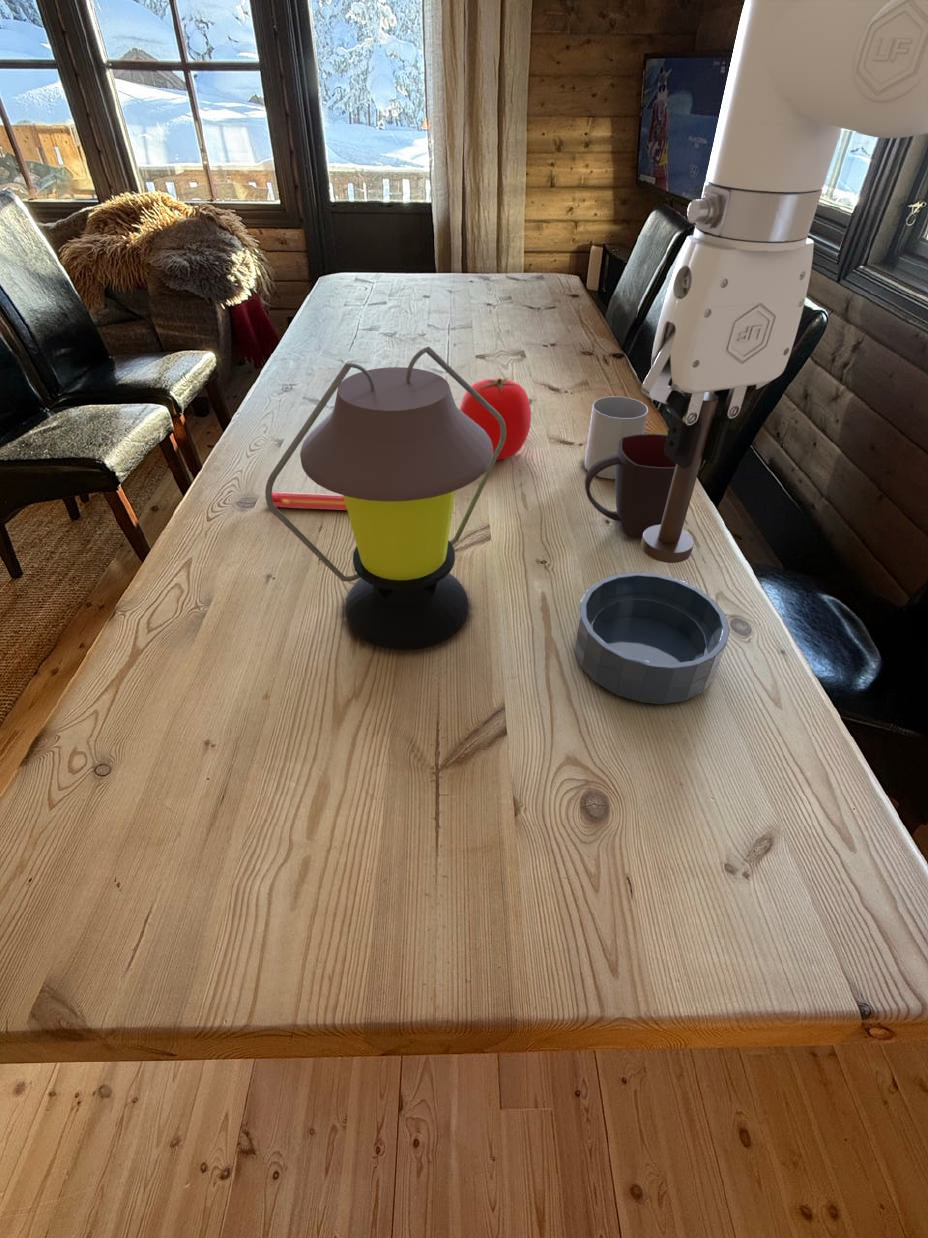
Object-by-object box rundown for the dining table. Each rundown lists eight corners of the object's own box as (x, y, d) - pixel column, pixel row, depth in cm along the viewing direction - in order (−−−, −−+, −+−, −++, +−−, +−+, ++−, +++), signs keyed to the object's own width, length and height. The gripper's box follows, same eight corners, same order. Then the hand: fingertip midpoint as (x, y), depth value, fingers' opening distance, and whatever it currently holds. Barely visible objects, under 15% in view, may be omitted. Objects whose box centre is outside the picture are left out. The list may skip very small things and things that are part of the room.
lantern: (294, 672, 71) (233, 403, 52) (306, 567, 86) (262, 326, 66) (520, 655, 73) (544, 392, 54) (494, 556, 88) (506, 319, 68)
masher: (695, 541, 65) (740, 390, 55) (686, 568, 62) (732, 412, 51) (646, 529, 66) (682, 380, 56) (635, 555, 63) (671, 401, 53)
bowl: (723, 634, 77) (738, 594, 73) (701, 728, 66) (717, 686, 62) (595, 598, 81) (602, 559, 77) (555, 680, 71) (561, 639, 67)
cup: (596, 450, 112) (605, 392, 105) (643, 462, 108) (655, 403, 102) (576, 470, 106) (584, 410, 99) (625, 484, 103) (636, 423, 96)
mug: (685, 547, 90) (707, 467, 82) (585, 549, 89) (598, 470, 81) (664, 508, 97) (683, 432, 90) (572, 511, 97) (582, 434, 89)
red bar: (276, 502, 99) (266, 509, 95) (275, 488, 98) (265, 494, 94) (435, 509, 98) (431, 516, 94) (435, 495, 97) (432, 502, 93)
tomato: (541, 462, 108) (549, 386, 100) (478, 476, 104) (480, 399, 96) (506, 432, 116) (510, 359, 108) (446, 444, 113) (445, 370, 104)
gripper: (689, 234, 41) (633, 495, 53) (885, 220, 45) (792, 464, 57) (626, 211, 46) (588, 453, 58) (806, 200, 50) (737, 428, 62)
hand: (690, 457), depth 57 cm, fingers closed on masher
